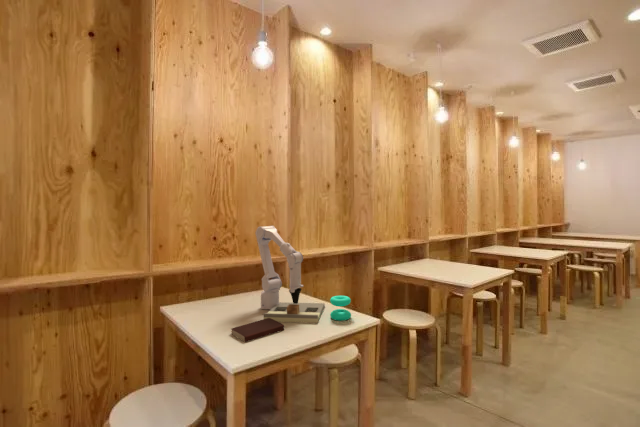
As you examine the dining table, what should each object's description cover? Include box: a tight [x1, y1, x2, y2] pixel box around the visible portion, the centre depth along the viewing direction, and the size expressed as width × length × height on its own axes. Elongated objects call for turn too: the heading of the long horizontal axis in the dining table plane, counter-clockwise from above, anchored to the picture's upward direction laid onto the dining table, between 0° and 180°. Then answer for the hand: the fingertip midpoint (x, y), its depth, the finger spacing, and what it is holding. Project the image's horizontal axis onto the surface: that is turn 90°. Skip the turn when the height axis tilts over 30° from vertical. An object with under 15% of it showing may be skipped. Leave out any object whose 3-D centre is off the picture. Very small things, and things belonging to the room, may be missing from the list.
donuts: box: [329, 295, 352, 322], centre depth 162 cm, size 10×10×10 cm
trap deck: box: [262, 301, 326, 324], centre depth 170 cm, size 26×25×4 cm
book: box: [230, 318, 285, 343], centre depth 145 cm, size 12×19×3 cm, turn 131°
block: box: [287, 304, 299, 314], centre depth 163 cm, size 5×5×4 cm
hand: (295, 303), depth 170 cm, fingers closed
